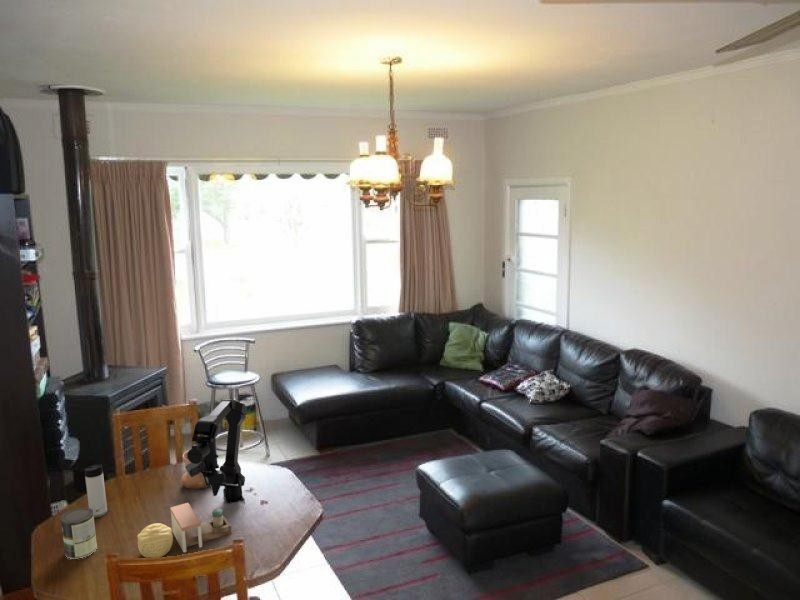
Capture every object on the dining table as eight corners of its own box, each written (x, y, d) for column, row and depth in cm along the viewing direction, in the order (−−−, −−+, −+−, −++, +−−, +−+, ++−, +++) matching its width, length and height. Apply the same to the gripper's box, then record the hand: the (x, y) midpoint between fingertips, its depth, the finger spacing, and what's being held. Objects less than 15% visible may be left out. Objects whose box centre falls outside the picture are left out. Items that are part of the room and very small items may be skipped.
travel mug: (101, 518, 247) (95, 470, 243) (86, 517, 248) (80, 468, 244) (111, 510, 253) (106, 463, 249) (96, 508, 254) (91, 461, 250)
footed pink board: (190, 526, 240) (188, 502, 239) (202, 547, 226) (200, 522, 225) (172, 531, 237) (170, 507, 235) (184, 553, 223) (181, 528, 221)
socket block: (224, 523, 242) (224, 516, 241) (231, 533, 235) (231, 525, 235) (180, 536, 233) (179, 529, 233) (185, 547, 227) (185, 539, 226)
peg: (222, 527, 239) (220, 507, 238) (225, 531, 236) (223, 511, 235) (212, 530, 237) (210, 510, 236) (215, 534, 234) (213, 514, 233)
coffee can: (59, 561, 220) (55, 523, 217) (72, 544, 230) (67, 508, 227) (90, 559, 220) (86, 521, 218) (101, 542, 231) (97, 506, 228)
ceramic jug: (218, 490, 268) (216, 458, 265) (181, 496, 263) (179, 463, 261) (216, 473, 285) (214, 442, 282) (182, 478, 280) (179, 447, 278)
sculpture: (139, 566, 216) (136, 537, 214) (138, 548, 227) (135, 520, 225) (175, 558, 220) (172, 529, 218) (172, 540, 231) (170, 513, 229)
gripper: (180, 448, 242) (183, 486, 245) (193, 466, 226) (196, 507, 229) (209, 441, 248) (212, 479, 251) (224, 459, 232) (227, 498, 235)
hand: (211, 490), depth 241 cm, fingers open, 9 cm apart
